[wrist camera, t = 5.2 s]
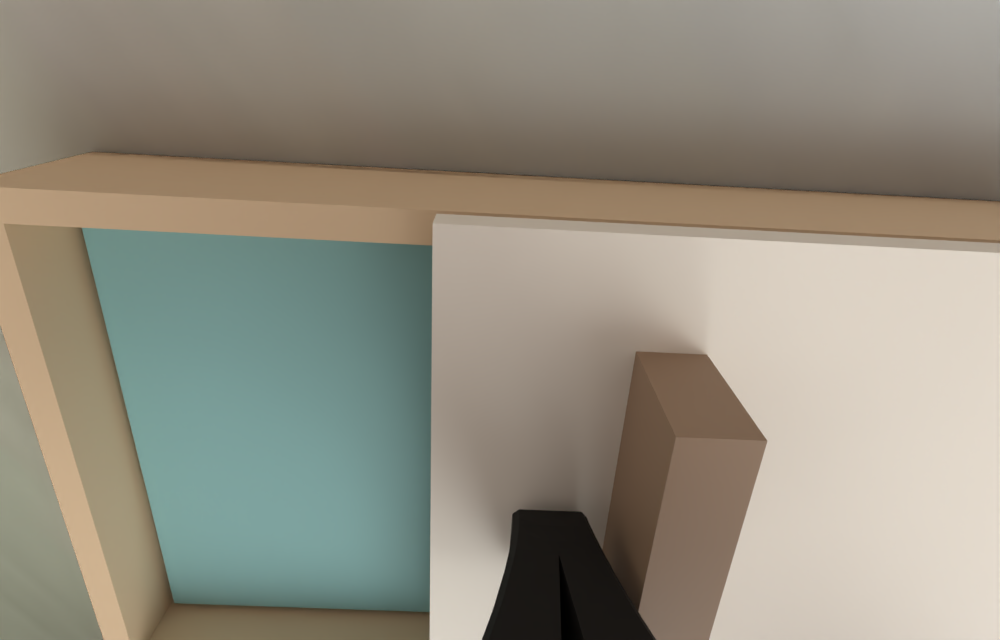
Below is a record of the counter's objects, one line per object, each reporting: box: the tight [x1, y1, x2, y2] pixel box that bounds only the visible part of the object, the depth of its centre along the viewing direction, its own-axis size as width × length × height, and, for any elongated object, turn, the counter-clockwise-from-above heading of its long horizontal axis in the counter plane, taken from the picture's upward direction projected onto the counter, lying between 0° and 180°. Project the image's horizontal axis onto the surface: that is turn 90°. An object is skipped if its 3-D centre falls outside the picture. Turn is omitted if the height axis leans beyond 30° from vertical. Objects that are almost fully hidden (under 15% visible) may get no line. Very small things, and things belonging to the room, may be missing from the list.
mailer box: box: [0, 152, 1000, 640], centre depth 14 cm, size 12×20×4 cm, turn 87°
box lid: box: [430, 214, 1000, 640], centre depth 11 cm, size 12×20×3 cm, turn 87°
